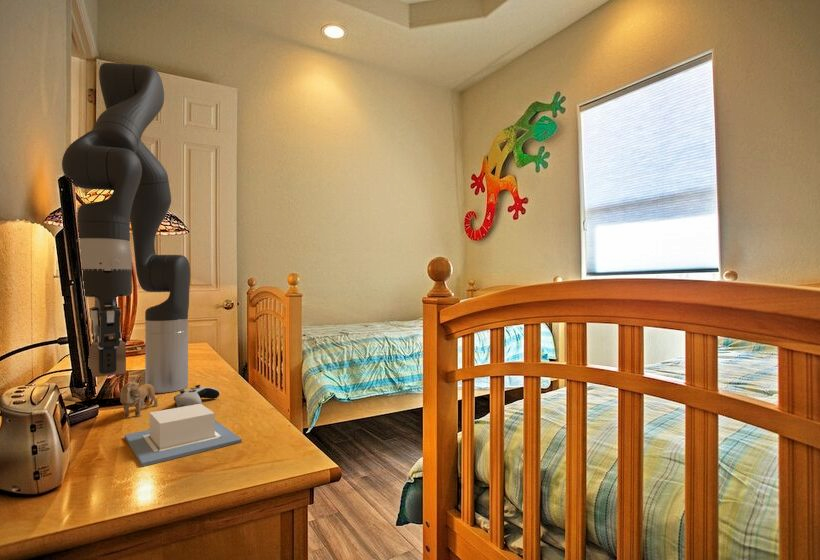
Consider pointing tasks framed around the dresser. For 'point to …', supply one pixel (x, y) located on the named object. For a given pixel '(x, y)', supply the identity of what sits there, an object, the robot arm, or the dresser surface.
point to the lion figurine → (136, 397)
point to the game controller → (195, 395)
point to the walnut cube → (94, 359)
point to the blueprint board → (152, 454)
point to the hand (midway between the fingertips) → (105, 369)
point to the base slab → (181, 425)
